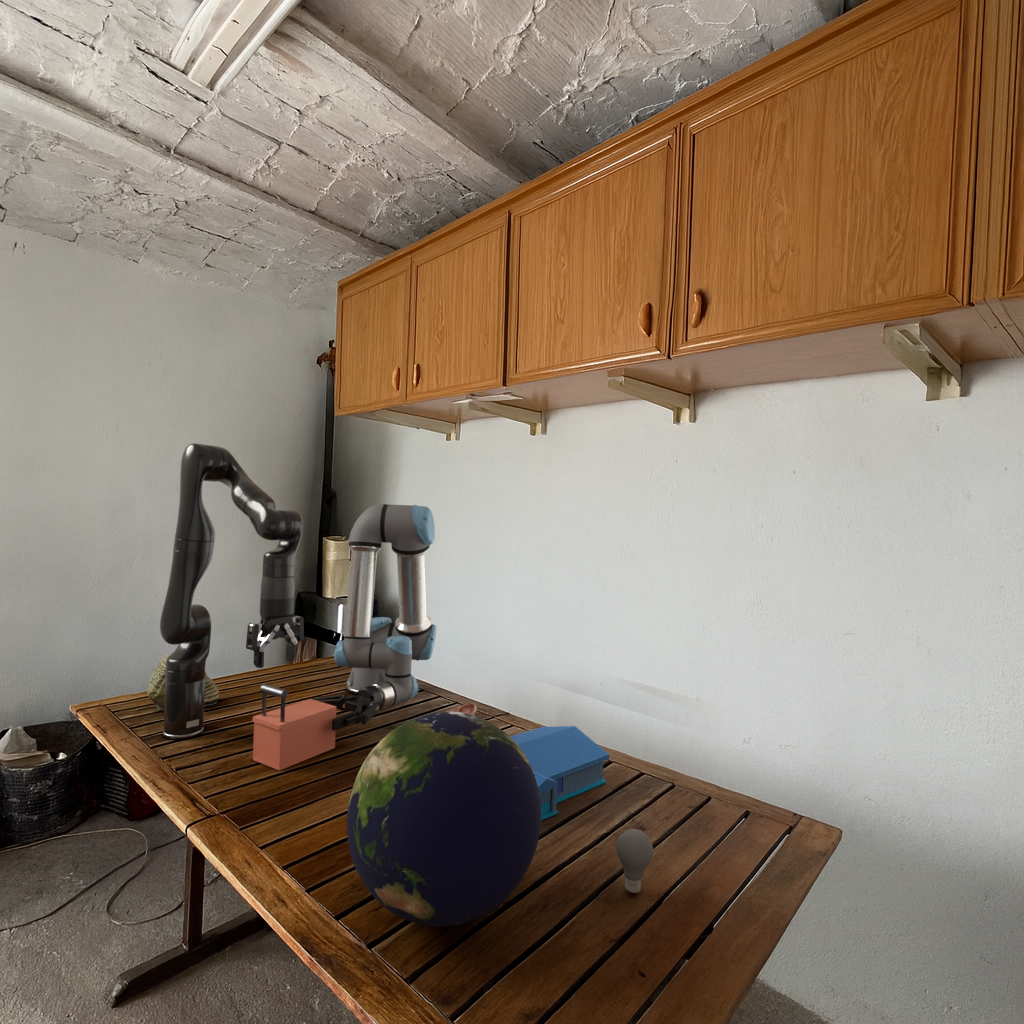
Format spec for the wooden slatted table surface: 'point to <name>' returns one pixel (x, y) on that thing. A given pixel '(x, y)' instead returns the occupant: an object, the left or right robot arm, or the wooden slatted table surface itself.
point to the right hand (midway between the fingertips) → (314, 719)
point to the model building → (561, 763)
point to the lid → (289, 710)
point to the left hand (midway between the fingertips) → (275, 663)
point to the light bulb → (634, 857)
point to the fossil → (158, 687)
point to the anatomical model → (465, 709)
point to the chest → (293, 742)
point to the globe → (444, 819)
